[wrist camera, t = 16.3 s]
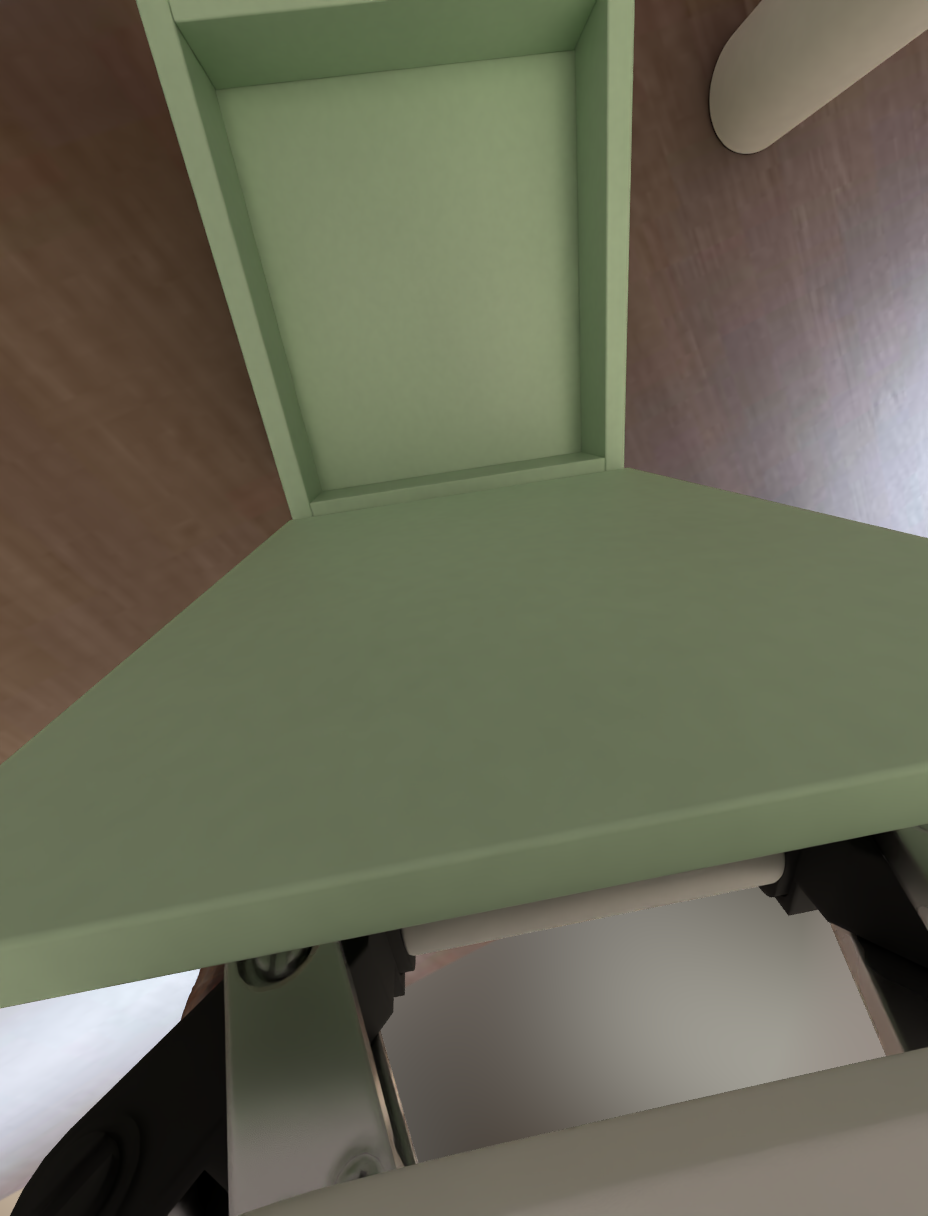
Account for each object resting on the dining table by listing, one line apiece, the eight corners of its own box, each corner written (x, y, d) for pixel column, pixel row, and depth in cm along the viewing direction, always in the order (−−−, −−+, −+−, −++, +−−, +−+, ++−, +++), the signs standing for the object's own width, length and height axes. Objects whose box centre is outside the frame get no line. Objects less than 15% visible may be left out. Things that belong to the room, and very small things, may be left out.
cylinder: (707, 32, 17) (931, -254, 10) (807, 1, 17) (1109, -311, 10) (709, 167, 19) (901, 11, 11) (801, 139, 18) (1052, -36, 11)
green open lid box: (191, 75, 16) (128, -22, 12) (589, 31, 16) (637, -72, 13) (312, 508, 22) (294, 526, 19) (592, 465, 23) (624, 475, 20)
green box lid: (-287, 1002, 3) (50, 1213, 5) (1469, 662, 4) (1178, 965, 6) (288, 520, 18) (319, 621, 20) (629, 467, 19) (626, 570, 21)
